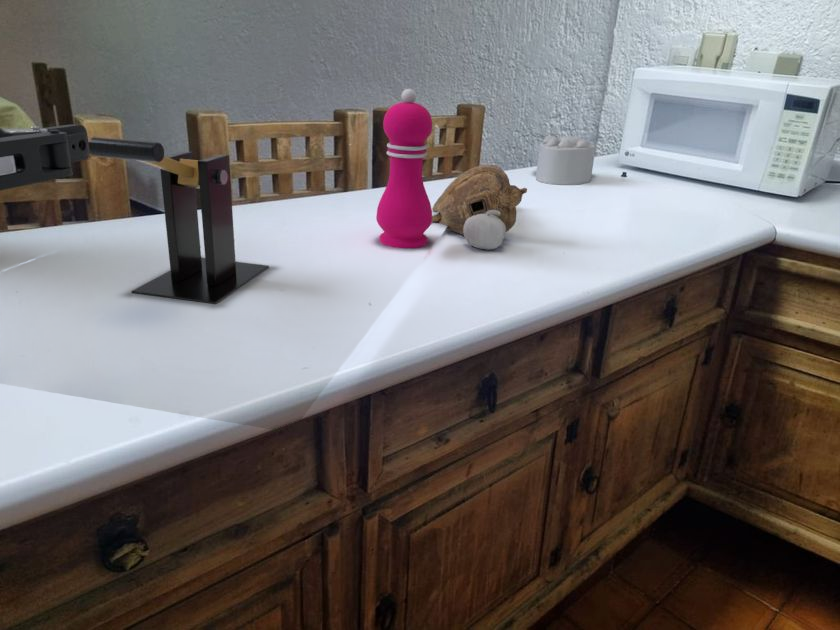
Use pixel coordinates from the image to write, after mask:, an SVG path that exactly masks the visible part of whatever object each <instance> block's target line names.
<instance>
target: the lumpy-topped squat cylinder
mask: <svg viewBox="0 0 840 630" xmlns="http://www.w3.org/2000/svg"><path fill="white" fill-rule="evenodd" d="M595 155H596V145H595V144H590V142H589V141H588V140H587V139H585V138H583V137H573V136H568V135H566V136H561V138H557V137H556V136H554V135H547V136H545V138H544V139H543V141H542V142H540V143H539V147H538V156H537V164H536V172H535V180H536V181H538V182H540V183H543V184H549V185H561V186H571V185H572V186H573V185H574V186H575V185H582V184H587V183H590V182H591V181H592V175H593V169H594V168H593V167H594V162H595Z"/></svg>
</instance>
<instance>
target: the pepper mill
mask: <svg viewBox="0 0 840 630" xmlns="http://www.w3.org/2000/svg"><path fill="white" fill-rule="evenodd" d="M401 100H402V102H398V103H395V104H393V105H392V106H390V107H389V108H388V109H387V111H386V112H385V114H384V117H383V121H382V122H383V123H382V125H383V126H382V127H383V131H384V134H385V135H386V136H387V138H388V140H389V142H387V144H386V147H387V151H386V155H387V156H389V165H390V166H389V176H388V181H387V184H386V187H385V189H384V191H383V193H382V195H381V197H380V199H379V201H378V205H377V207H376V208H377V209H376V222H377V225H378V226H379V227H380V229H381V230H382V231H383V232H382V233H380V235H379V243H380V244H381V245H384V246H387V247H389V248H396V249H418V248H422V247H425V246H427V244H428V241H429V240H428V236H427V235H426V234H425V232H426V231H427V230H428V229H429V228H430V226H431V225H432V223H433V222H432V216H433V210H432V203H431V201H430V199H429V196H428V193H427V190H426V188H425V184H424V180H423V162H424V158H426V157H427V156H428V154H427V149H428V145H427V144H425V143H426V140H427V139H428V138H429V137H430V135H431V134H432V131H433V120H432V115H431V113H430V111H429V110H428V109H427V108H426V107H425V106H423V105H421V104H420V103H416V102H415V101H417V93H416V91H415V90H414V89H413V88H405V89H404V90H403V91H402V93H401Z"/></svg>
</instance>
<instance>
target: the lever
mask: <svg viewBox="0 0 840 630" xmlns="http://www.w3.org/2000/svg"><path fill="white" fill-rule="evenodd" d="M88 142H89V149H90V155H91V156H93V157H97V158H107V159H116V160H117V159H118V160H127V161H129V160H130V161H136V162H139V163H143V164H145V165H148V166H151V167H154V168H156V169H159V170H160V169H163V170H166V171H168V172H171V173H174V174H177V175H178V184H181V185H184V186H187V187H191V188H196V189H197V190H200V186H199V173H198V161H199V159H193V160H189V159H180V162H178V161H176V160H173V159H170V158H168V157H165V156H166V155H165V149H164V146H163V145H162V143H161V142H156V141H155V142H154V141H145V140H144V141H143V140H132V139H123V138H122V139H120V138H108V137H96V136H93V137H90V139H88Z"/></svg>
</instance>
